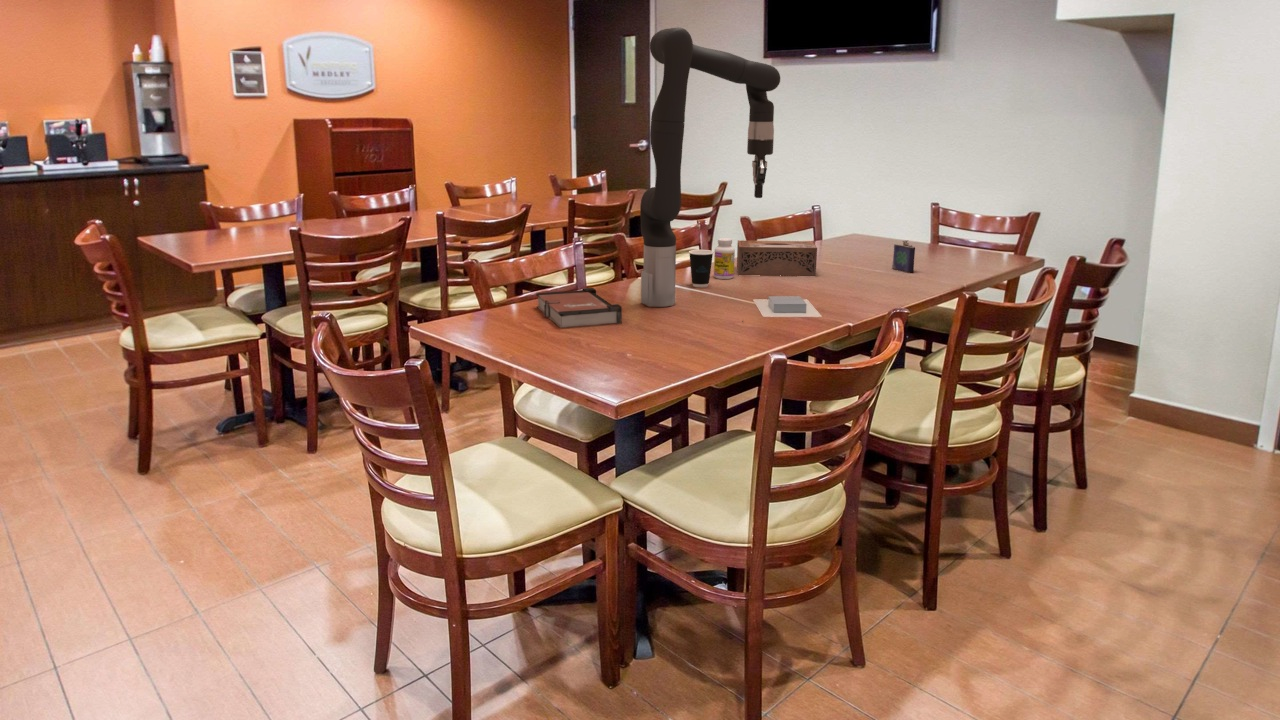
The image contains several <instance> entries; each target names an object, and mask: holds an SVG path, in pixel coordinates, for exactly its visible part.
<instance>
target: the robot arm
mask: <svg viewBox="0 0 1280 720" xmlns="http://www.w3.org/2000/svg"><path fill="white" fill-rule="evenodd" d="M649 51H650V53H651V56H652V57H653V59H654V60H655V61H656V62H658V63H660V64H662V65H663V77H662V84H661V87H660V90H659V93H658V94H657V98H656V99H655V102H654V105H653V109H652V112H651V116H650V131H649V133H650V134H649V136H650V137H649V139H650V140H649V141H650V147H651V151H652V155H653V159H654V164H655V186H652V187H649V188H648V189H646V190H645V192H643V194H642V196H641V200H640V213H639V214H640V231H641V236H642V239H643V270H641V271H640V303H641V304H643V305H645V306H646V307H648V308H649V307H650V308H653V307H654V308H655V307H656V308H662V307H663V308H666V307H672V306H674V305H676V271H677V269H676V267H677V265H676V264H677V263H676V261H677V260H676V259H677V258H676V255H677V236H676V233H674V231H673V229H672V226H671V225H672V224H671V222H673V221H674V220H675V219H677V217H678V216H679V213H680V211H681V207H682V185H681V184H682V181H681V179H682V178H681V172H682V171H681V169H682V157H683V141H684V136H685V135H684V133H685V120H686V105H687V94H688V93H687V92H688V91H687V90H688V82H689V75H690V69H694V70H696V71H699V72H703V73H706V74H709V75H712V76H715V77H717V78H720V79H723V80H725V81H729V82H732V83H735V84H739V85H741V84H743V85H745V89H746V95H747V101H748V104H749V105H748V106H749V115H748V116H749V118H748V119H749V120H748V127H747V145H746V146H747V149H746V150H747V151H746V153H747V154H748V155H753V156H754V160H752V163H751V166H752V177H753V178H752V181H753V184H754V192H753V193H754V196H753V197H754V198H756V199H761V198H763V195H764V194H763V192H764V191H763V190H764V189H763V188H764V184H766V183H765V182H766V176H767V171H768V168H767V167H768V161H767V160H766V156H769V155H773V153H774V138H775V136H774V135H775V128H774V127H775V126H774V117H775V106H774V102H772V100H771V101H770V99H768V94H767V92H773V91H774V90H775V89H777V88H778V87H779V85H780V84H781V73H780V71H779V70H778V69H777V68H776V67H775V66H773V65H770V64H767V63H763V62H759V61H754V60H749V59H746V58H744V57H741V56H739V55H736V54H734V53H731V52H727V51H723V50H717V49H712V48H707V47H704V46H700V45H696V44H693V38H692V36H691V34H690V33H689V31H688V30H687V29H685V28H683V27H670V28H664V29H660V30H658V31H657V32H655V33H654V34H653V35H652V37H651V39H650V42H649Z"/></svg>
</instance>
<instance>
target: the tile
mask: <svg viewBox="0 0 1280 720" xmlns="http://www.w3.org/2000/svg"><path fill="white" fill-rule="evenodd" d="M768 299H769V300H768V305H769V307H770V308H771V310H772V311H773V313H806V307H807V304H806V303H805V301H804V300H803V298H802V296H800V295H799V296H798V295H797V296H795V295H791V296H789V295H783V296H782V295H781V296H780V295H778V296H777V295H775V296H774V295H773V296H770V295H768Z"/></svg>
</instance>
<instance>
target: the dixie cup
mask: <svg viewBox="0 0 1280 720" xmlns="http://www.w3.org/2000/svg"><path fill="white" fill-rule="evenodd" d="M688 254H689V263H690V264H689V265H690V274H691V283H692V287H694V288H707V287H709V284H710V277H711V272H712V261H713V254H715V251H714V250H709V249H692V250H689V251H688Z"/></svg>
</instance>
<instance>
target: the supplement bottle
mask: <svg viewBox="0 0 1280 720" xmlns="http://www.w3.org/2000/svg"><path fill="white" fill-rule="evenodd" d="M717 244H718V246H716V247H715V248H714V259H713V260H714V261H713V277H714V278H715V279H719V280H730V279H732V278H734V275H735V258H736V257H735V256H736V254H735V252H736V251H735V250H736V249H735V248H734V246H732V244H733V239H732V238H729V237H726V238H725V237H723V238H721V237H720V238H718V239H717Z"/></svg>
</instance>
